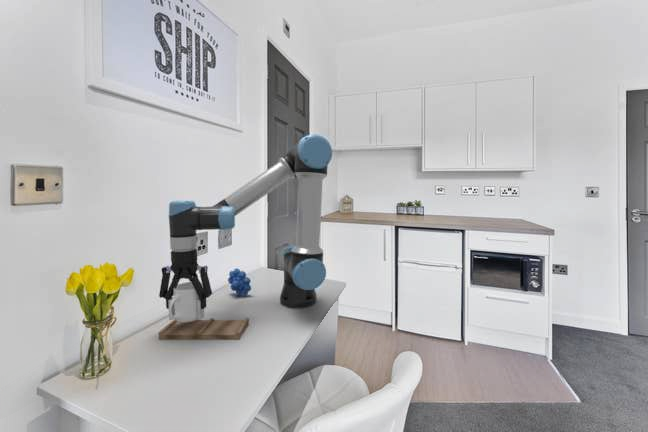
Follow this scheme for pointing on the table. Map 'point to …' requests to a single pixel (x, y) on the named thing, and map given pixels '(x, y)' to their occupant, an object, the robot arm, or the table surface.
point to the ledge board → (205, 329)
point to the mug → (185, 303)
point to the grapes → (239, 282)
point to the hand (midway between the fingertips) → (187, 317)
